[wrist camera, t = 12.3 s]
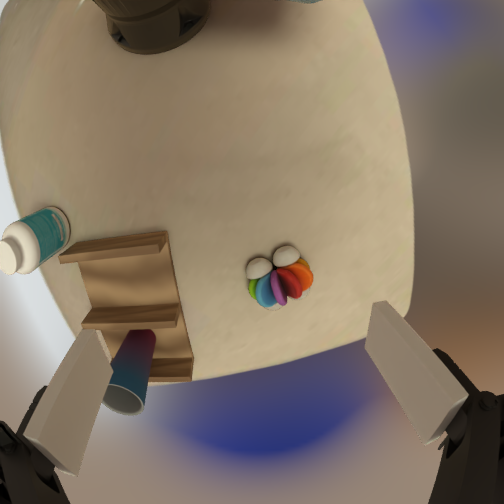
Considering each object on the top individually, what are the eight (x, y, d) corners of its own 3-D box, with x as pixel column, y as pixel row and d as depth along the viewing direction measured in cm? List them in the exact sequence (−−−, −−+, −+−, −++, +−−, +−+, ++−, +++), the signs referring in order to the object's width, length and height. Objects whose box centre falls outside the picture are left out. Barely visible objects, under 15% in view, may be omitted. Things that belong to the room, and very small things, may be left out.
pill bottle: (49, 196, 35) (-5, 217, 22) (78, 224, 37) (29, 255, 24) (33, 231, 36) (-16, 260, 24) (60, 258, 38) (16, 295, 26)
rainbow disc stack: (313, 282, 44) (328, 305, 37) (258, 306, 45) (264, 333, 38) (296, 237, 41) (310, 254, 34) (236, 263, 42) (239, 285, 35)
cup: (169, 342, 44) (154, 409, 30) (142, 356, 45) (122, 419, 31) (143, 314, 42) (117, 378, 28) (116, 330, 43) (87, 391, 29)
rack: (76, 242, 38) (58, 256, 32) (167, 230, 39) (157, 244, 33) (116, 359, 46) (107, 380, 41) (193, 358, 47) (191, 381, 42)
